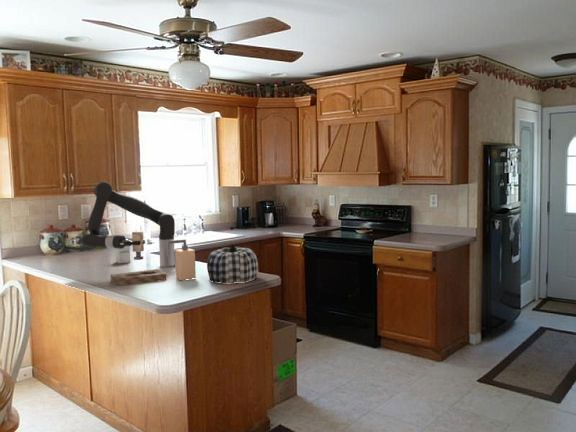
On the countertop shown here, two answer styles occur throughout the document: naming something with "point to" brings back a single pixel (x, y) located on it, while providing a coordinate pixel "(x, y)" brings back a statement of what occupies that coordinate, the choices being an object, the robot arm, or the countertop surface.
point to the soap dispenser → (184, 261)
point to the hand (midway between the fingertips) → (142, 242)
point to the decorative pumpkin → (232, 265)
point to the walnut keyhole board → (138, 277)
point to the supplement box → (123, 255)
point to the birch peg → (138, 248)
